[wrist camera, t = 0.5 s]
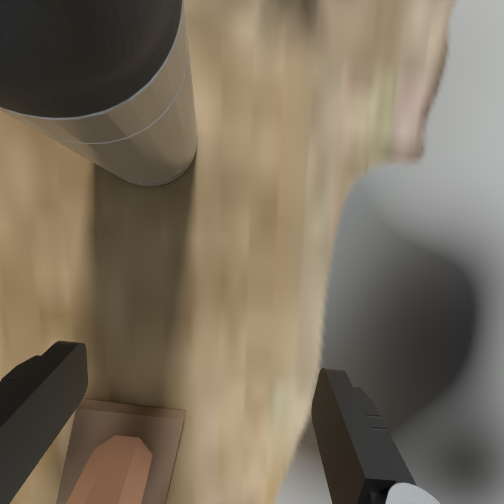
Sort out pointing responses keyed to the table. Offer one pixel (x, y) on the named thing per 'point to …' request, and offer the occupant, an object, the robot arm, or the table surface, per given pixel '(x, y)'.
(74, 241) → the table surface
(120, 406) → the stake stand
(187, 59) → the robot arm
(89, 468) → the sleeve
